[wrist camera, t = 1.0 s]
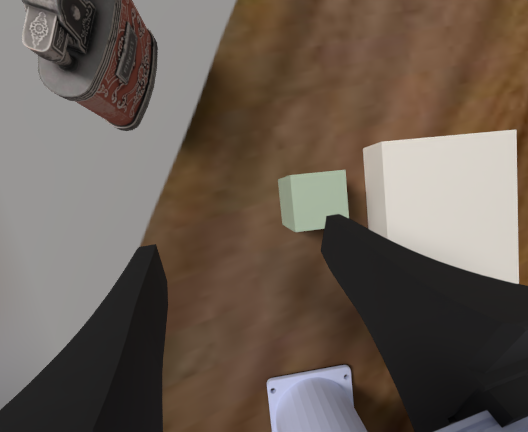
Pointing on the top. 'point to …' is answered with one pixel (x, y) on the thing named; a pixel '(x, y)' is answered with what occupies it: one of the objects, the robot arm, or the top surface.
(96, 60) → the lighter
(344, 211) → the green block
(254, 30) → the top surface
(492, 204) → the base plinth
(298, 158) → the top surface
